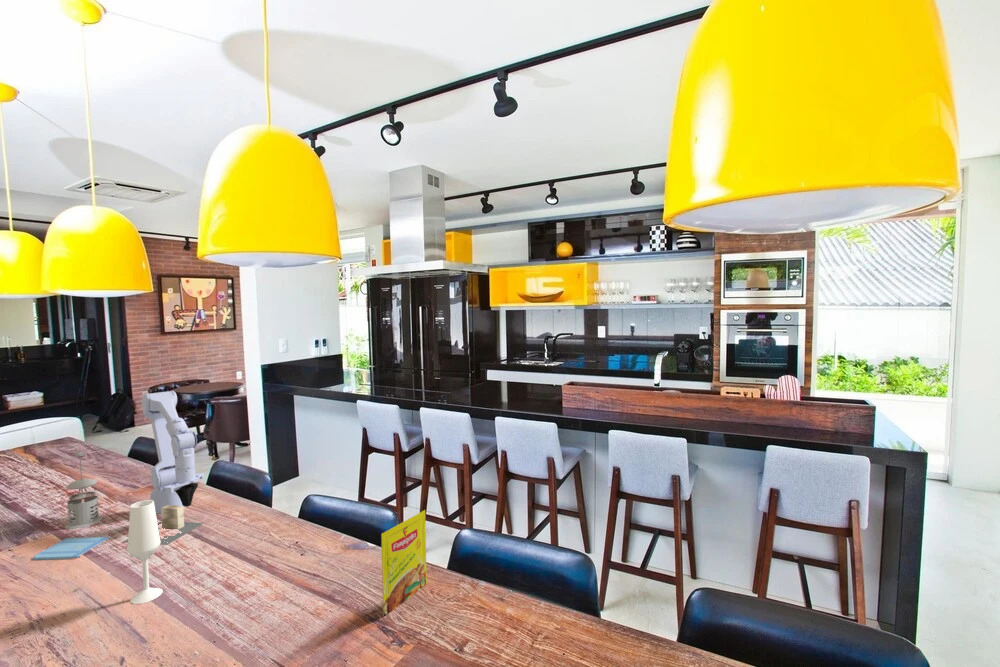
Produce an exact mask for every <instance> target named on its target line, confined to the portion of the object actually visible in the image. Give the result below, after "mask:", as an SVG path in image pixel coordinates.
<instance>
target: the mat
mask: <svg viewBox="0 0 1000 667" xmlns="http://www.w3.org/2000/svg"><path fill="white" fill-rule="evenodd" d="M157 523H158V525H159V524H161V523H162V520H161V521H159V522H157ZM203 524H205V523H204V522H191V521H190V522H187V521H184V527H182V528H180V529H178V530H179V531H181V532H182V533H181V534H180V533H177V534H176V535H175V536H169V537H168V538H167V536H164V538H167V539H164V538H163V539H161V538H160V541H161V543H160V546H168V545H170V544H171V543H173V542H175V541H176V540H178V539H180V538H181V537H184V536H185V535H186V534H188V533H189V532H192V531H193V530H195V529H197V528H198V527H200V526H201V525H203ZM164 541H165V542H164ZM167 542H168V543H167ZM122 543H127V544H128V538H127V539H125V540H123V541H122Z"/></svg>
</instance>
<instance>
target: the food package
mask: <svg viewBox="0 0 1000 667" xmlns="http://www.w3.org/2000/svg"><path fill="white" fill-rule="evenodd" d="M426 533H427V531H426V509H424V510H422V511H420V512H419V513H417V514H415V515H414V516H412V517H410V518H408V519H406V520H404V521H402V522H401V523H399V524H397V525H395V526H394V527H392V528H390V529H387V530H385V531H384V532H382V533H381V534H380V535H381V538H380V539H381V541H380V542H381V569H382V570H381V572H382V576H381V577H382V607H383V609H382V611H383V617H384V618H385V617H386V616H387V615H389V614H390V613H391V612H393V611H394V610H395V609H396V608H398V607H400V606H401V605H402V604H403V603H405V602H406V601H407V600H408V599H410V598H411V597H413V596H414V595H415V594H416V593H418V592H419V591H421V590H422V589H423V588H424V587H426V586H427V585H428V576H427V574H428V573H427V535H426Z"/></svg>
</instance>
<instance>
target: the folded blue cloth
mask: <svg viewBox="0 0 1000 667" xmlns="http://www.w3.org/2000/svg"><path fill="white" fill-rule="evenodd" d="M110 537H111V536H96V537H95V536H94V537H93V536H92V537H67V538H64V539H62V540H61V541H59V542H57V543H56V544H54V545H51V546H49V547H48V548H46V549H44V550H42V551H41V552H39V553H37V554H35V555H33V557H32V560H33V561H39V560H41V561H43V560H44V561H45V560H47V561H49V560H69V559H68V558H78V557H79V558H81V557H80V556H81V555H83V554H85V553H87V552H88V551H90V550H91V549H93V548H95V547H96V546H98V545H100V544H101V543H103V542H106V541H107V540H108V539H110ZM79 558H78V559H79Z"/></svg>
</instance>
